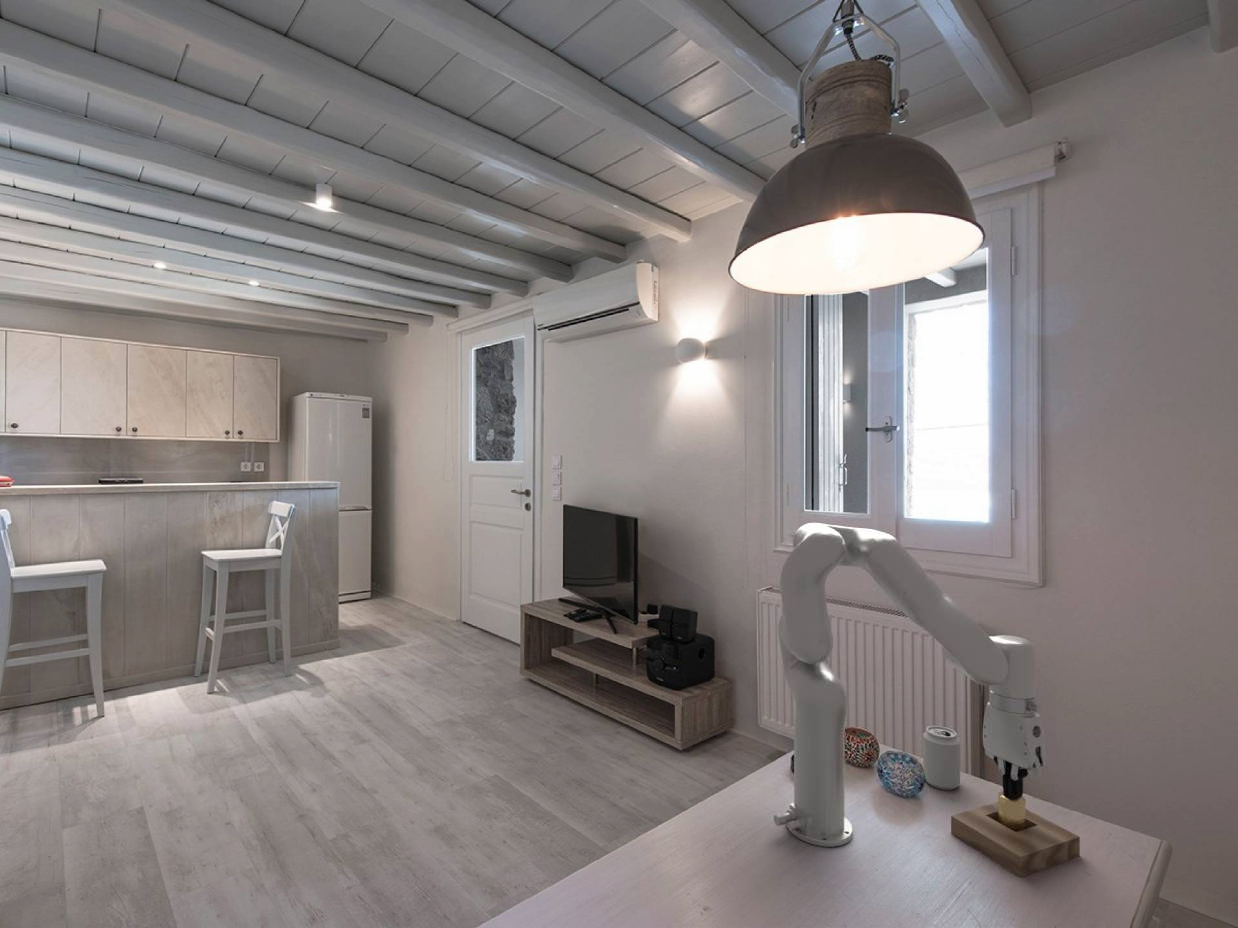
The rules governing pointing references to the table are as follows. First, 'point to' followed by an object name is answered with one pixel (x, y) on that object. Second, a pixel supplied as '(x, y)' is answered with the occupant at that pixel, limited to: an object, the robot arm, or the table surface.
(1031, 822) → the block
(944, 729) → the can
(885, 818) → the table surface
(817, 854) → the table surface
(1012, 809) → the bushing
